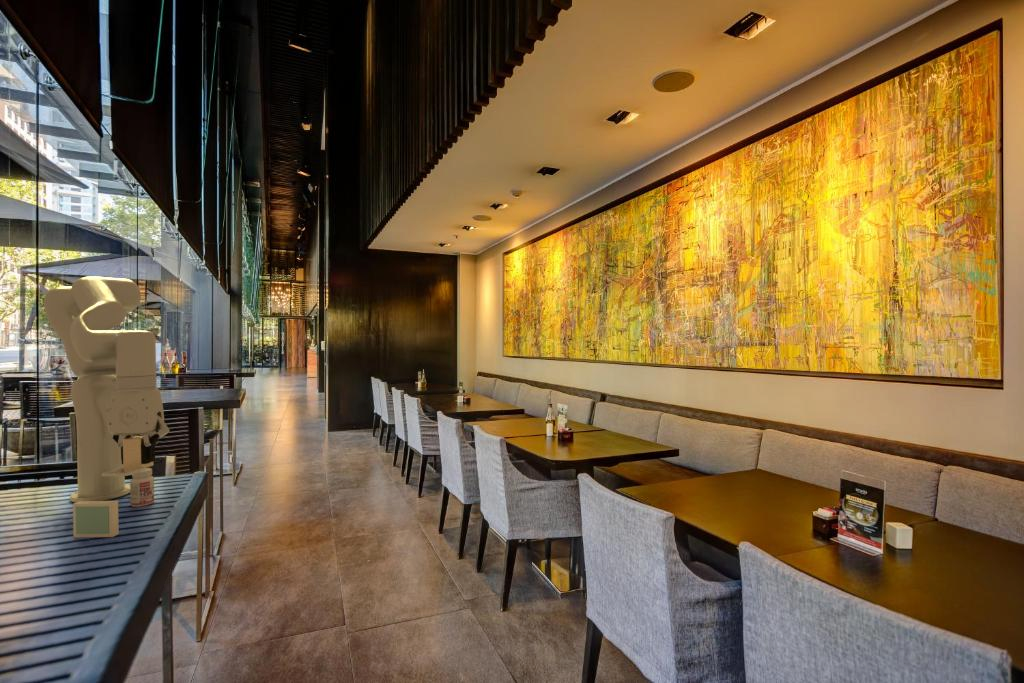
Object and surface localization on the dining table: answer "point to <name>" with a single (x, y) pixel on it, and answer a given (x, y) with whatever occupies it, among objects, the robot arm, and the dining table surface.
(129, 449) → the beige boxy piece
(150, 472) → the pill bottle
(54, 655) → the dining table surface
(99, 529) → the block
